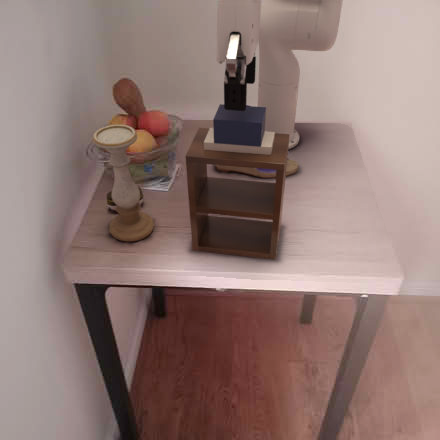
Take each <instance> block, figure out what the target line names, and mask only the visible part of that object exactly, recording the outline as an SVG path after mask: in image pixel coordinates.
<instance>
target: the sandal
mask: <svg viewBox="0 0 440 440" xmlns="http://www.w3.org/2000/svg"><path fill="white" fill-rule="evenodd" d="M246 106H250V105H248V104H246ZM215 166H216V170H217V171H219V172H226V173H230V172H237V173H241V174H245V175H250V176H253V177H257V178H262V179H263V178H264V179H276V170H272V169H260V168H248V167H236V166H224V165H215ZM298 170H299V163H298V162H297V161H296V160H294V159H290V158H288V157H287V167H286V177H288V176H292V175H294V174H296V173H297V172H298Z"/></svg>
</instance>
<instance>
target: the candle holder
mask: <svg viewBox="0 0 440 440" xmlns="http://www.w3.org/2000/svg"><path fill="white" fill-rule="evenodd" d="M137 140H138V132H137V131H136V129H135V128H134V127H133V126H130V125H127V124H109V125H106V126H103V127H101V128H98V129H97V130H95V132H94V133H93V135H92V142H93V144H94V146H96V147H98V148H99V149H103V150H105V151H106V152H108V153H109V155H110V158H109V160H108V165H109V166H111V167H112V170H113V176H114V181H113V184H112V187H111V191H112V194H111V196H112V200H113V202H114V203H115V204H116V205H117V206H116V210H115V211H116V213H117V214H118V215H116V216H115V217H114V218H112V220H111V222H110V223H109V232H110V234H111V235H112V237H113V238H114V239H116V240H119V241H121V242H136V241H140V240H142V239H145V238H147V237H148V236H149V235H150V234H151V233H152V232H153V230H154V227H155V226H154V219H153V218H152V216H151V215H149V214H148V213H145V212H143V211H140V210H141V206H142V204H140V203H139V200H140V191H139V188H140V187H139V186H138V185H137V183H136V182H135V181H134V180H133V178H132V176H131V172H130V168H129V165H130V163H131V158H130V157H129V156H128V155H127V150H128V149H129V147H130V146H131V145H133V144H135V142H137ZM138 187H139V188H138Z"/></svg>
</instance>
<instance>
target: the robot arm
mask: <svg viewBox="0 0 440 440" xmlns="http://www.w3.org/2000/svg"><path fill="white" fill-rule="evenodd" d="M342 6H343V0H266V1H264V2H263V3H262V0H217V7H216V10H217V11H216V12H217V13H216V61H217V63H218V64H219V65H221V64H223V63H225V69H224V79H223V80H224V81H223V102H224V103H223V105H224V108H225V109H226V110H235V111H245V110H246V105H247V99H248V98H247V93H248V85H249V84H250V85H254V84H255V82H256V66H257V56H256V51H257V48H258V83H257V85H258V87H257V107H266V119H265V131H267V132H275V133H278V134H290V137H289V147H288V150H291V149H292V148H294V147H296V146H297V145H298V144H299V142H300V134H299V132H298V131H297V130H296V129H295V124H296V116H297V106H298V95H299V87H300V86H299V85H300V75H301V67H300V62H299V60H298V59H297V57H296V54H295V53H294V51H306V52H307V51H309V52H327V51H329V50H331V49H332V48H333V46H334V45H335V44H336V40H337V37H338V32H339V26H340V20H341V15H342Z"/></svg>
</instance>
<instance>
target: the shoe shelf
mask: <svg viewBox="0 0 440 440" xmlns="http://www.w3.org/2000/svg"><path fill="white" fill-rule="evenodd" d="M209 129H210V127H205V128H204V127H198V129H197V130H196V132H195V134H194V137H193V140H191V142H190V145H189V148H188V150H187V152H186V154H185V166H186V167H185V168H186V170H185V171H186V180H187V181H186V184H187V195H188V207H189V220H190V231H191V232H190V234H191V248H192V249H191V250H192V251H193V252H201V253H202V252H203V253H212V254H221V255H230V256H239V257H248V258H257V259H266V260H276V259H277V255H278V247H279V241H280V235H281V228H282V217H283V209H284V208H283V207H284V197H285V188H286V177H287V176H286V167H287V158H288V155H289V149H288V147H289V137H290V134H278V133H275V137H274V144H273V148H272V153H271V155H264V154H251V153H239V152H226V151H213V150H204V141H205V138H206V136H207V134H208V131H209ZM208 165H213V166H216V165H224V166H236V167H248V168H260V169H272V170H276V178H275V182H268V181H257V180H246V179H236V178H235V179H233V178H222V177H211V176H208ZM238 217H239V218H238ZM247 218H248V219H247ZM268 220H269V221H268Z"/></svg>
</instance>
